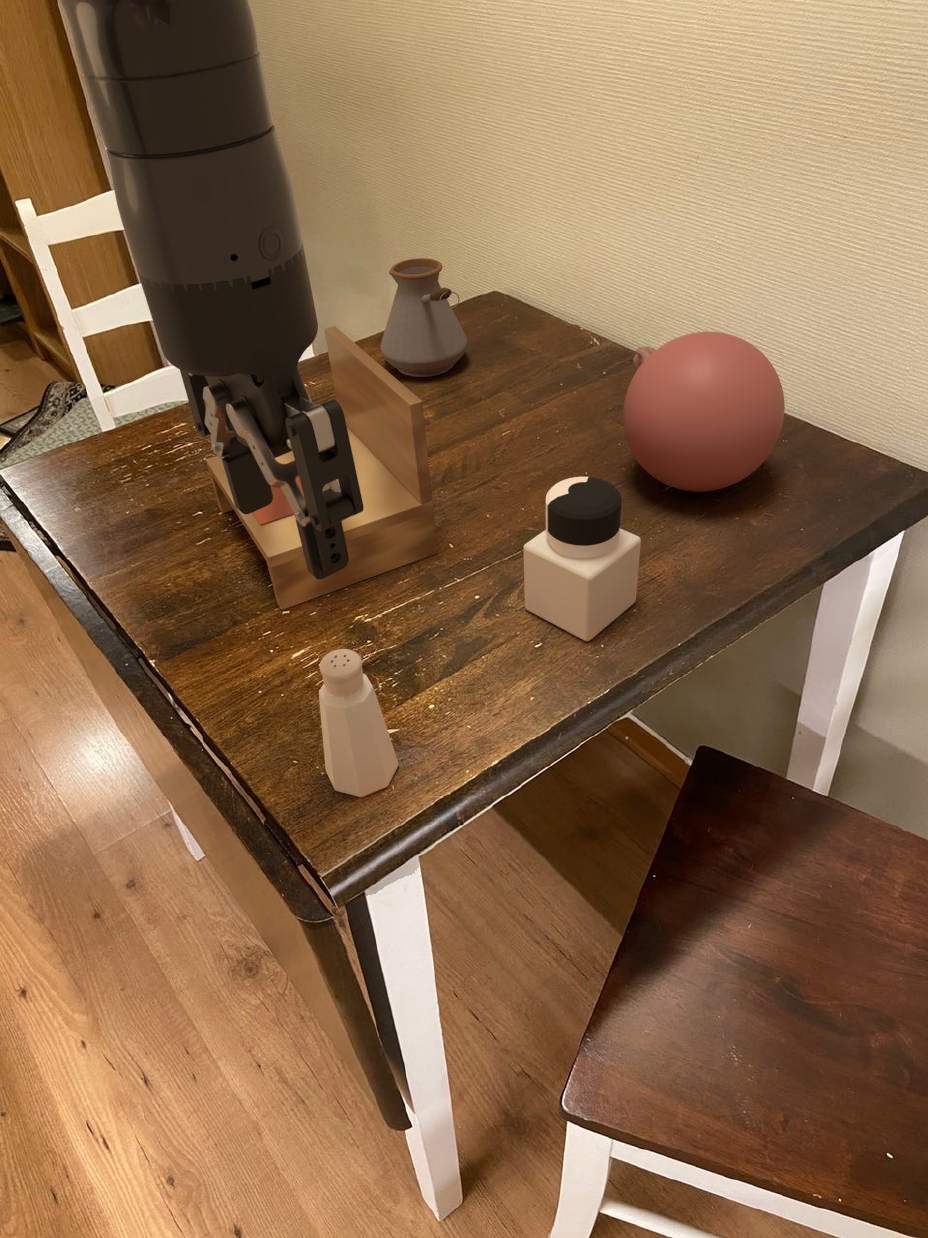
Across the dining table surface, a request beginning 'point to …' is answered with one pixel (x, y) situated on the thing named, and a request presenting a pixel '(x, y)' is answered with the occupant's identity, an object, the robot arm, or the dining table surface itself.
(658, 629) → the dining table surface
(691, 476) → the balloon
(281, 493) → the shelf
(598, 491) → the medicine bottle
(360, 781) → the pepper shaker
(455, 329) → the coffee pot
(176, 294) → the robot arm
